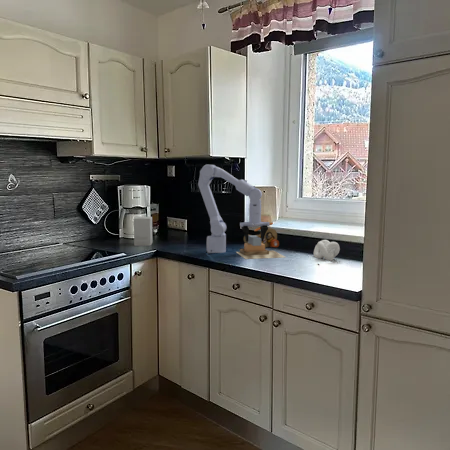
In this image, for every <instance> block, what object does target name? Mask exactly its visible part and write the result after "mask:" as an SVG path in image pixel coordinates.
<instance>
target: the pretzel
mask: <svg viewBox="0 0 450 450" xmlns="http://www.w3.org/2000/svg"><path fill="white" fill-rule="evenodd" d="M340 250H341V248H340V244H339V243H338V242H336V241H329V240H328V239H321V240H320V241H318V242H317V244H315V247H314V249H313V256H314V258H316V259H325V260H326V261H329V262H332V261H333V260H334V258H335V257H336V256H338V254H339V253H340Z"/></svg>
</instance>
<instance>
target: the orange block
mask: <svg viewBox="0 0 450 450" xmlns="http://www.w3.org/2000/svg"><path fill="white" fill-rule="evenodd" d="M243 249H244V251H246V252H252V251H265V249H266V247H265V244H263V243H261V246H253V245H251V244H249V243H245V242H244V245H243Z"/></svg>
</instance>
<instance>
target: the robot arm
mask: <svg viewBox="0 0 450 450" xmlns="http://www.w3.org/2000/svg"><path fill="white" fill-rule="evenodd" d="M198 177H199V178H198V182H197V183H198V188H199V191H200V194H201V196H202V199H203V203H204V205H205V208H206V211H207V214H208V217H209V220H210V221H209V224H210V232H211V235H207V236H206V252H207V254H214V253H215V254H216V253H217V254H222V253H226V251H227V248H226V247H227V234H226V233H225V232H226V231H227V229H228V228H227V223H226V222H224V220H223V218H222V217H221V214H220V212H219V209H218V206H217V204H216V200H215V198H214V195H213V192H212V190H211V186H210V184H211V183H212V180H214V178H221V179H224V180H225V181H226V182H228V183H230V184H231V185H233V186H235V190H236V191H238V192H239V193H240V194H242V195H244V196H246V197H248V198H249V205H248V206H249V209H248V211H249V213H248V214H249V216H248V221H244V222H239V227H240V228H241V230H242V232H243V234H244V236H245V239H246V242H248V234H249V233H250V227H251V228H252V227H253V228H254V227H260V233H261V241H263V240H264V236H265V234H266V232H267V230H268V228H269V227H271V225H270V223H271V222H269V221H262V199H261V198H262V196H263V192H262V190H260V188H258V187H256V185H252V184H250V183H249V182H248V180H246V179H242V178H241V179H238V178H236V177H234V175H232V174H231V173H229V172H228V171H226V170H224V169H223V168H221V167H219V166H216V165H215V164H207V163H206V164H205V165H203V166H202V168H200V170H199V176H198Z"/></svg>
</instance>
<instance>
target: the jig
mask: <svg viewBox="0 0 450 450" xmlns="http://www.w3.org/2000/svg"><path fill="white" fill-rule="evenodd" d="M235 253H236V254H238V255H239V256H241V257H242V258H244V259H245V260H257V259H279V258H280V259H281V258H283V259H285V258H287V256H285V255H283V254H280V253H279V252H278V251H275V250H268V249H266V248H265V251H252V252H246V251H244V248H239V251H235Z"/></svg>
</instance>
